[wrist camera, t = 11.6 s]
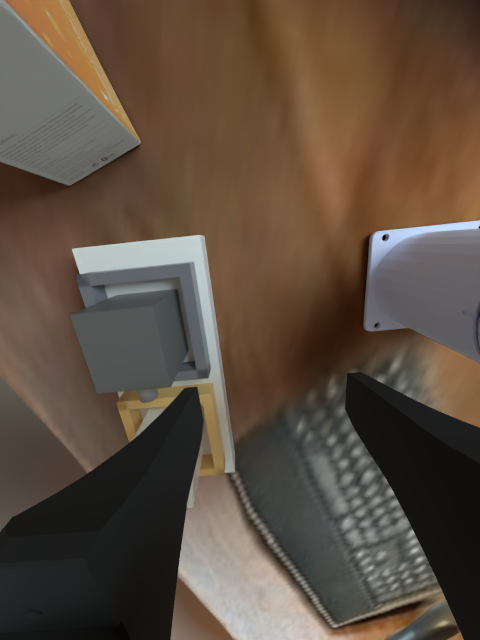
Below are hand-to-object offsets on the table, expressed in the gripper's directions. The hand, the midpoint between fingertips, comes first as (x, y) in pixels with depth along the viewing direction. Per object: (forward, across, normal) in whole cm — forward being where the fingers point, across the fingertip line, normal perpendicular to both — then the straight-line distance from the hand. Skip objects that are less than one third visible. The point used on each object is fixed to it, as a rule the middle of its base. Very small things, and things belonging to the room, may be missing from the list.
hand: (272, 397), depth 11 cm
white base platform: (+9, +8, +3) cm, 13 cm away
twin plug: (+7, +8, -2) cm, 11 cm away
